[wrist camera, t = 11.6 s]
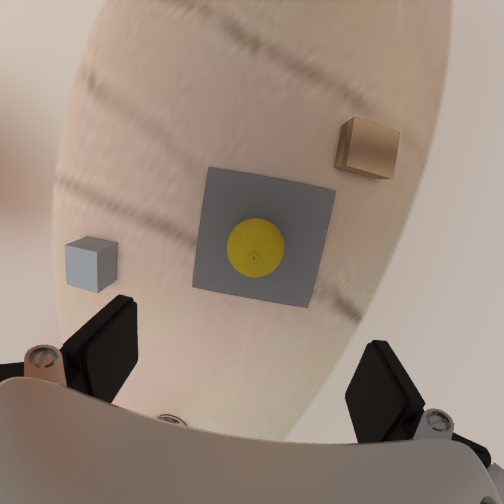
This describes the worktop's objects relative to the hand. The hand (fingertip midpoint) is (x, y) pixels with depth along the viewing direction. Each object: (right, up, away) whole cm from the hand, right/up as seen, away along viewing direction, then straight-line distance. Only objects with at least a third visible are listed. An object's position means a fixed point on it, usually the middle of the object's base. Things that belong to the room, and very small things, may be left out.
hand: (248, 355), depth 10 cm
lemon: (+1, +5, +21) cm, 22 cm away
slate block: (-20, +3, +23) cm, 30 cm away
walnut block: (+12, +15, +18) cm, 27 cm away
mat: (+1, +5, +21) cm, 22 cm away
